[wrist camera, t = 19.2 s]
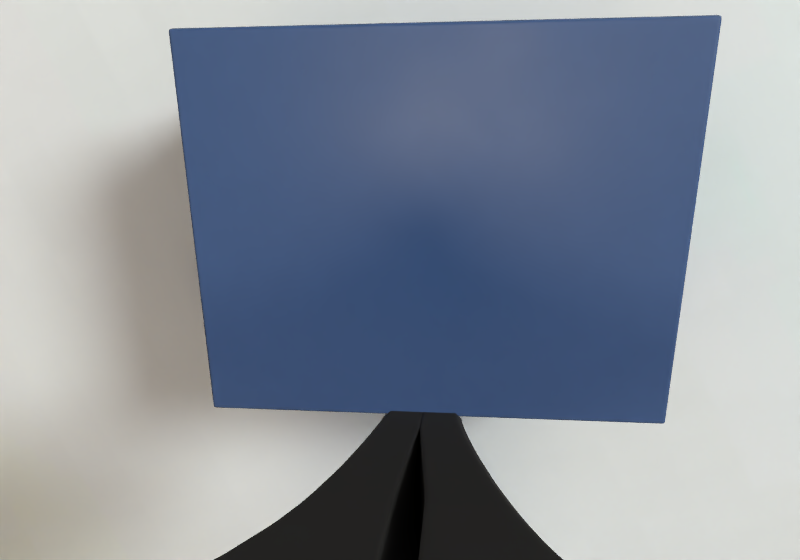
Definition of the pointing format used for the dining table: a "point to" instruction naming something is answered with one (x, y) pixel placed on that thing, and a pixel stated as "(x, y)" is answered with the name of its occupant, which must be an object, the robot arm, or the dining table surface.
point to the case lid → (445, 211)
